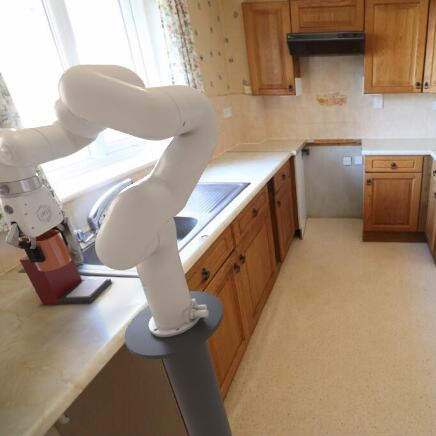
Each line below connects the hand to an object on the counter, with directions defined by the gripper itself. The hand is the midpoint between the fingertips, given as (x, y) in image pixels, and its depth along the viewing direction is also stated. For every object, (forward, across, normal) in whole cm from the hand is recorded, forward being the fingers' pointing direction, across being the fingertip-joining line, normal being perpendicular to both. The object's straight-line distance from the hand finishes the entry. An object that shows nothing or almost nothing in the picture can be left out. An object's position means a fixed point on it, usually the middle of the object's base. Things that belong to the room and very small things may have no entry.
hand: (50, 252), depth 80 cm
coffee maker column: (+20, +10, +12) cm, 25 cm away
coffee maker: (+20, +10, +4) cm, 23 cm away
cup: (+3, 0, 0) cm, 3 cm away
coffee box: (+20, +28, +23) cm, 41 cm away
